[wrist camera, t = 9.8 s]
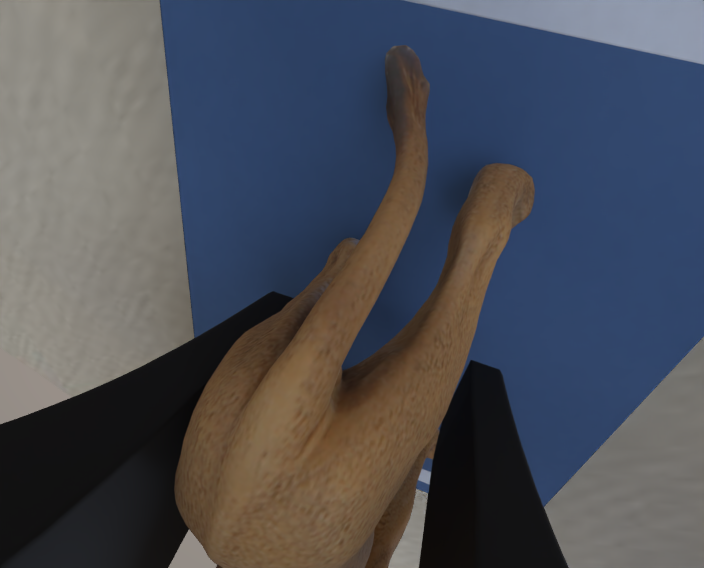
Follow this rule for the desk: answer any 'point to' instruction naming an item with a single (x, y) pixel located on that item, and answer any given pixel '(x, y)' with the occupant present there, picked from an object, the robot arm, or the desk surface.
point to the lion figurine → (345, 380)
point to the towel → (461, 181)
